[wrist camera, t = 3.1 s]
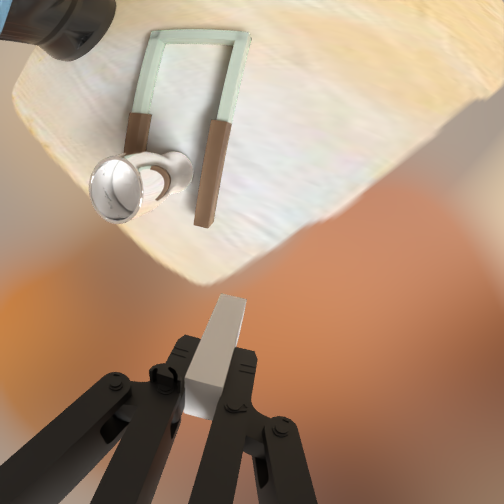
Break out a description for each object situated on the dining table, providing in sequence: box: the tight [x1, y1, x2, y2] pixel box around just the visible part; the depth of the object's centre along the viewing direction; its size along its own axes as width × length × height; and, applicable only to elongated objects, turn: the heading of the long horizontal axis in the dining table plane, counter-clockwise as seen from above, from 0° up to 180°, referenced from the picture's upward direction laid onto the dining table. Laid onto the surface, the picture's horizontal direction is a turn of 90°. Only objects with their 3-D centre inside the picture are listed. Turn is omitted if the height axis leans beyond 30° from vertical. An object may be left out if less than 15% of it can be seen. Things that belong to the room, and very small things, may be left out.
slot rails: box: [124, 113, 232, 228], centre depth 35 cm, size 14×14×3 cm
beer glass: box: [89, 151, 193, 224], centre depth 30 cm, size 7×7×15 cm
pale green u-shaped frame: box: [132, 29, 251, 124], centre depth 30 cm, size 14×13×2 cm
